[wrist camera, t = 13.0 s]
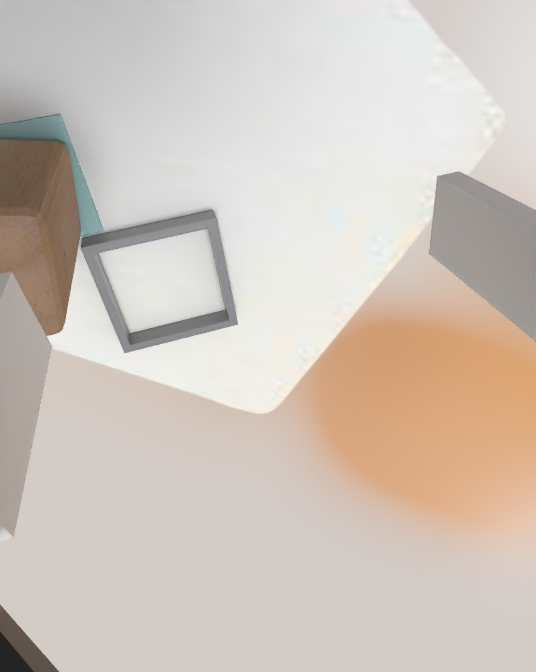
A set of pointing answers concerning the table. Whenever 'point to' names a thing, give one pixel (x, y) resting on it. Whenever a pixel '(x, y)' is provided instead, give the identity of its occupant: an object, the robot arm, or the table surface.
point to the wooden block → (39, 225)
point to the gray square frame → (147, 234)
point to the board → (56, 131)
